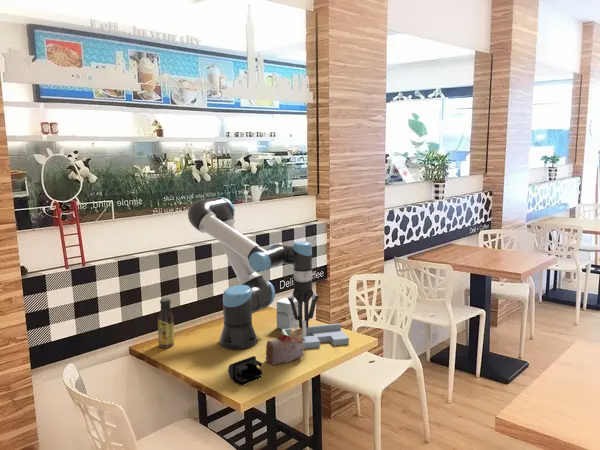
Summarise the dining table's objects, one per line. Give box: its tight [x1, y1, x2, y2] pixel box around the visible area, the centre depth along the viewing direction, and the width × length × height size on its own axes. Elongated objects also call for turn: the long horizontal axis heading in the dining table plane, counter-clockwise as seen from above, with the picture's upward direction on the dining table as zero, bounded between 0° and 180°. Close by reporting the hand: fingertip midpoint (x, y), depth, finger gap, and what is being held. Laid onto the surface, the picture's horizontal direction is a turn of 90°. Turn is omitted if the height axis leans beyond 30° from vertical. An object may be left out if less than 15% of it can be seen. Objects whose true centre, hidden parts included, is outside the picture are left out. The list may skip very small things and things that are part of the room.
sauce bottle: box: [157, 297, 175, 349], centre depth 206 cm, size 6×6×20 cm
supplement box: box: [276, 297, 299, 330], centre depth 226 cm, size 7×7×13 cm
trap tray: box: [281, 322, 350, 350], centre depth 210 cm, size 26×11×5 cm, turn 105°
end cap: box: [227, 355, 263, 386], centre depth 177 cm, size 10×7×7 cm
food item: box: [265, 334, 305, 366], centre depth 193 cm, size 14×8×10 cm, turn 121°
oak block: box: [290, 326, 302, 340], centre depth 207 cm, size 4×4×4 cm
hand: (303, 335), depth 208 cm, fingers closed
